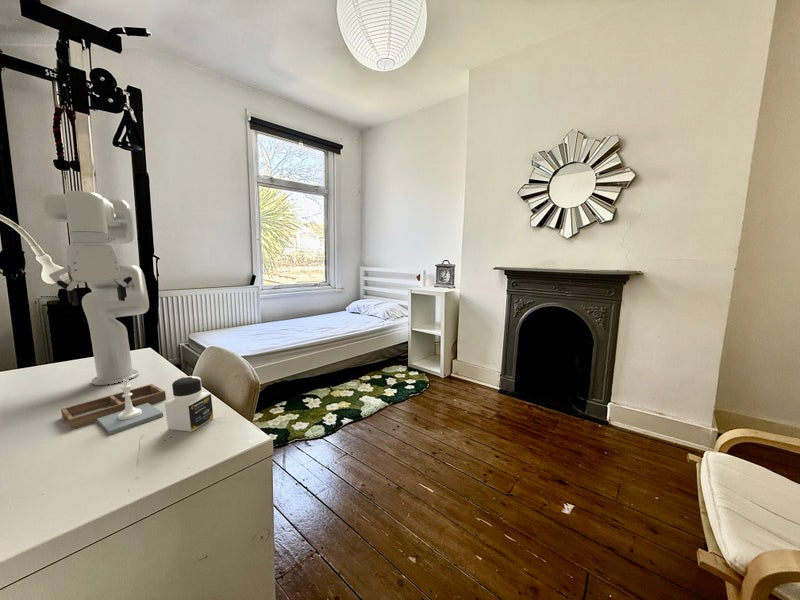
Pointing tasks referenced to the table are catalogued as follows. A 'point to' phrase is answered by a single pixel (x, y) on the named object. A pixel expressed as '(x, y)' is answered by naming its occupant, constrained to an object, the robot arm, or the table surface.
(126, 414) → the chess piece
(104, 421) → the pad
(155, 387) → the bay frame
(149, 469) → the table surface
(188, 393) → the medicine bottle
